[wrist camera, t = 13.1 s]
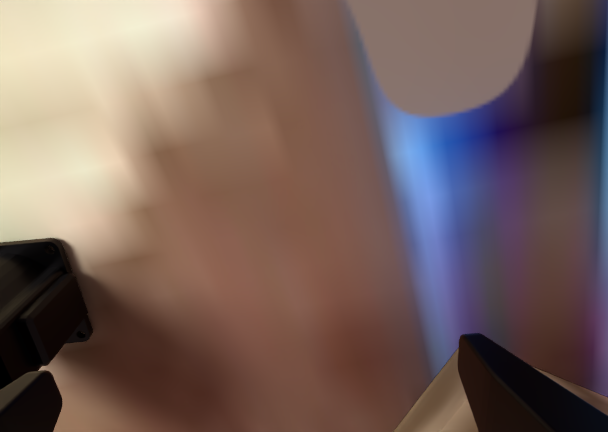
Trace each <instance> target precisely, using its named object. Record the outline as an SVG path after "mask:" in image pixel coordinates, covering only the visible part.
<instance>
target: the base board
mask: <svg viewBox="0 0 608 432" xmlns="http://www.w3.org/2000/svg"><path fill="white" fill-rule="evenodd" d="M458 350H459V348H458V349H457V350H456V352H455V353H454V354H453V355H452V357H451V358H450V359H449V361H448V362H447V363H446V364H445V366H444V367H443V368H442V370H441V371H440V372H439V374H438V375H437V376H436V377H435V379H434V380H433V381H432V383H431V384H430V385H429V386H428V388H427V389H426V390H425V392H424V393H423V394H422V396H421V397H420V398H419V399H418V401H417V402H416V403H415V405H414V406H413V407H412V408H411V410H410V411H409V412H408V414H407V415H406V416H405V418H404V419H403V420H402V421H401V423H400V424H399V425H398V427H397V428H396V429H395V430H394V432H479V431H478V428H477V425H476V422H475V420H474V417H473V414H472V411H471V408H470V405H469V402H468V399H467V396H466V393H465V391H464V388H463V385H462V382H461V379H460V376H459V372H458ZM533 368H534V367H533ZM535 369H536V370H538V371H540V372H541V373H543V374H544V375H546V376H547V377H549V378H550V379H552V380H554V381H555V382H557V383H558V384H560V385H561V386H563V387H564V388H566V389H567V390H569V391H571V392H572V393H574V394H575V395H577V396H578V397H580V398H581V399H583V400H584V401H586V402H588V403H589V404H591V405H592V406H594V407H595V408H597V409H598V410H600V411H601V412H603V413H605V414H606V415H608V397H605V396H603V395H600V394H598V393H595V392H593V391H591V390H588V389H586V388H583V387H581V386H578V385H576V384H574V383H571V382H569V381H566V380H564V379H561V378H559V377H556V376H554V375H552V374H549V373H547V372H544V371H542V370H539V369H537V368H535Z"/></svg>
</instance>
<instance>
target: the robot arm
mask: <svg viewBox="0 0 608 432" xmlns="http://www.w3.org/2000/svg"><path fill="white" fill-rule="evenodd" d="M49 246H52V247H53V248H54V251H53V250H51V249H50V248H49ZM87 314H88V311H87V308H86V306H85V303H84V300H83V297H82V294H81V291H80V289H79V286H78V283H77V280H76V277H75V276H74V275H73V273H72V270H71V267H70V264H69V261H68V259H67V256H66V253H65V250H64V247H63V245H62V243H61V242H60V241H59V240H57V239H55V238H46V239H35V240H24V241H13V242H2V243H0V432H53V430H54V428H55V425H56V422H57V420H58V417H59V414H60V412H61V409H62V397H61V394H60V392H59V389H58V387H57V385H56V382H55V380H54V377H53V375H52V373H50V372H49V371H46V370H44V371H38V370H39V369H40V368H41V366H47V365H48V364H49V363H50V362H51V361H52V359H53V358H54V357H55V355H56V354H57V353H58V351H59V350H60V349H61V348H62V346H63V345H64V344H65V343H74V342H84V341H87V340H88V339H89V338H90V337H91V335H92V333H93V329H92V326H91V323H90V321H89V318H88V315H87ZM80 331H82V332H84V333H85V334H83V333H81V332H80ZM458 372H459V376H460V379H461V382H462V385H463V388H464V391H465V393H466V396H467V399H468V402H469V405H470V408H471V411H472V414H473V417H474V420H475V422H476V425H477V428H478V431H479V432H608V415H606V414H605V413H603V412H601V411H600V410H598V409H597V408H595V407H594V406H592V405H591V404H589V403H588V402H586V401H584V400H583V399H581V398H580V397H578V396H577V395H575V394H574V393H572V392H571V391H569V390H567V389H566V388H564V387H563V386H561V385H560V384H558V383H557V382H555V381H554V380H552V379H550V378H549V377H547V376H546V375H544V374H543V373H541V372H540V371H538V370H536V369H535V368H533V367H532V366H530V365H529V364H527V363H526V362H524V361H523V360H521V359H519V358H518V357H516V356H515V355H513V354H512V353H510V352H509V351H507V350H506V349H504V348H502V347H501V346H499V345H498V344H496V343H495V342H493V341H492V340H490V339H489V338H487V337H485V336H484V335H482V334H480V333H473V334H463V335H461V336H460V339H459V350H458Z"/></svg>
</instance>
